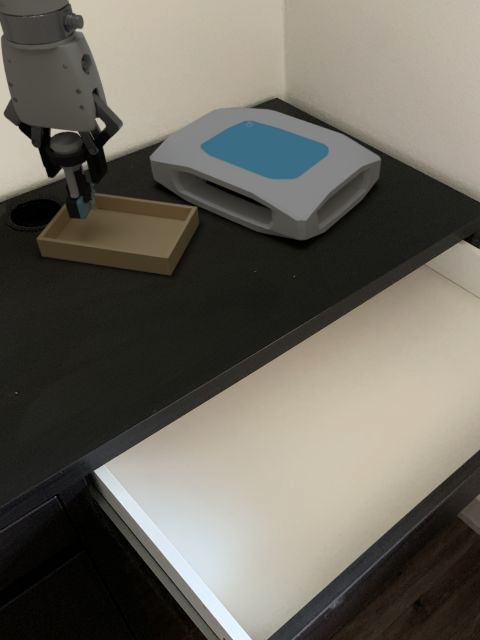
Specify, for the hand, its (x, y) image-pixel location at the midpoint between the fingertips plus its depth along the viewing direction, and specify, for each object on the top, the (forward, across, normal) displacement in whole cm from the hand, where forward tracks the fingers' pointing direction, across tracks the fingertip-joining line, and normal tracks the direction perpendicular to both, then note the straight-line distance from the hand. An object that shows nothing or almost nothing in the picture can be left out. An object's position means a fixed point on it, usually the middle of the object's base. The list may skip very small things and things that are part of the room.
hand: (77, 174), depth 85 cm
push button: (+5, 0, 0) cm, 5 cm away
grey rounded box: (+10, -20, -18) cm, 29 cm away
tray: (+9, -4, 0) cm, 10 cm away
